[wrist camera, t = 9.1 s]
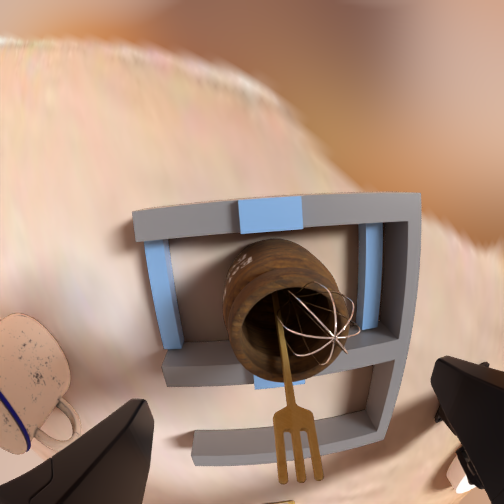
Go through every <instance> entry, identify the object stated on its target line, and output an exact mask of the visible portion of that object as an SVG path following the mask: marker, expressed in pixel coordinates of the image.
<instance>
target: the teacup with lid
mask: <svg viewBox="0 0 504 504" xmlns="http://www.w3.org/2000/svg"><path fill="white" fill-rule="evenodd" d="M69 385H70V370H69V366H68V363H67V360H66V357H65V355H64V353H63V351H62V349H61V348H60V346H59V344H58V343H57V342H56V340H55V339H54V337H53V336H52V335H51V334H50V333H49V331H48V330H47V329H46V328H45V327H44V326H42V325H41V324H40V323H39V322H38V321H36V320H35V319H33V318H31V317H29V316H27V315H25V314H21V313H14V314H11V315H9V316H7V317H6V318H4V319H3V320H1V321H0V447H1V448H2V449H4V450H6V451H8V452H10V453H13V454H23V453H25V452H27V451H29V449H30V447H31V440H32V439H33V437H35V438H36V439H37V440H38V441H40V442H41V443H42V444H44V445H45V446H46V447H48V448H50V449H52V450H55V451H61V450H62V449H64V448H65V447H67V446H68V445H69V444H71V443H72V442H74V441H75V440H76V439H78V438H79V437H81V422H80V419H79V416H78V414H77V412H76V411H75V410H74V408H73V407H72V406H71V405H70V404H69V403H68V402H67V401H65V400H64V399H63V398H62V397H63V395H64V394H65V393H66V391H67V390H68V388H69ZM55 406H57V407H58V408H59V409H60V410H62V411H63V412H64V413H65V414H66V415H67V417H68V418H69V420H70V422H71V424H72V429H73V434H72V437H71V438H70V439H69V440H67V441H59V440H55V439H53V438H51V437H50V436H48V435H47V434H45V433H44V432H43V431H42V430H40V427H41V426H42V424H43V423H44V422H45V420H46V419H47V417H48V416H49V415H50V413H51V412H52V410H53V409H54V408H55Z"/></svg>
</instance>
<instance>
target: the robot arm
mask: <svg viewBox="0 0 504 504" xmlns="http://www.w3.org/2000/svg"><path fill="white" fill-rule="evenodd" d="M431 385H432V387H433V390H434V392H435V394H436V396H437V398H438V400H439V402H440V404H441V405H440V407H439V410H438V412H437V415H436V417H435V422H436V423H438V422H440V421H444V422H445V423H446V425H447V426H448V427H449V428H450V430H451V431H452V432H453V434H454V435H456V436H457V437H458V438H459V440H460V442H461V444H462V447H461V448H459V449H458V450H457V451H456V454H457V458H458V460H459V462H460V464H461V466H462V468H463V470H464V472H465V474H466V476H467V480H468V483H469V484H470V485H475V486H476V487H478V488H479V489H485V491H486V493H487V494H488V497H489V499H490V501H491V504H504V372H503V371H499V370H496V369H492V368H489V363H488V362H485V363H483V364H481V365H478V364H474V363H471V362H467V361H464V360H461V359H457V358H454V357H451V356H444V357H441V358H439V359H437V361H436V362H435V366H434V369H433V373H432V376H431ZM153 432H154V419H153V416H152V414H151V411H150V408H149V406H148V403H147V401H146V400H144V399H131V400H129V401H128V402H127V403H125V404H124V405H123V406H121V407H120V408H119V409H117V410H116V411H115V412H113V413H112V414H111V415H109V416H108V417H107V418H105V419H104V420H103V421H101V422H100V423H99V424H97V425H96V426H95V427H93V428H92V429H90V430H89V431H88V432H86V433H85V434H83V435H82V436H81V437H79V438H78V439H76V440H75V441H74V442H72V443H71V444H69V445H68V446H67V447H65V448H64V449H62V450H61V451H59V452H58V453H56V454H55V455H53V456H52V458H49V459H47V460H46V461H45V462H43V463H42V464H40V465H38V466H37V467H35V468H34V469H32V470H30V471H29V472H27V473H25V474H23V475H21V476H19V477H17V478H15V479H13V480H11V481H9V482H7V483H5V484H2V485H0V504H142V501H143V496H144V491H145V487H146V482H147V478H148V473H149V468H150V461H151V450H152V441H153Z"/></svg>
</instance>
